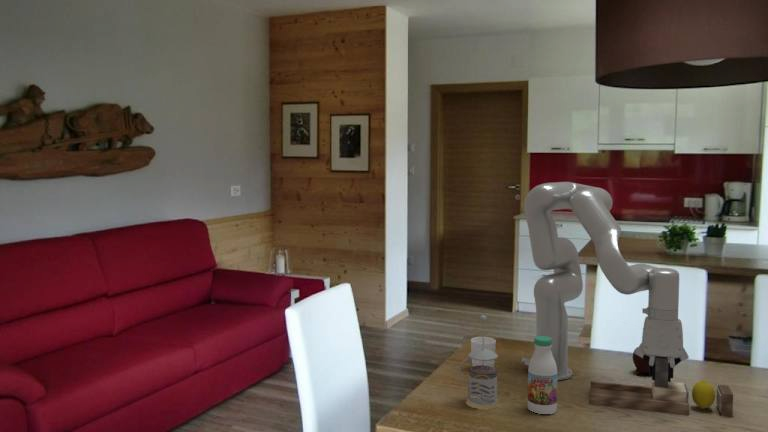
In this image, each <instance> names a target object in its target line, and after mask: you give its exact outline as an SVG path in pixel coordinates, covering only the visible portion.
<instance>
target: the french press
mask: <svg viewBox="0 0 768 432" xmlns="http://www.w3.org/2000/svg"><path fill="white" fill-rule="evenodd" d="M487 317H488V316H486V315H484V314H481V315H480V316H479V320H480V321H482V337H483V349H477V350H474V351H472V352H471V351H470V352H469V353H468V357H467V358H465V359H463V360H462V361H461V363H460V365H459V368H458V378H459V379H460V381H461V382H462V383H463V384H464V385H466V386H467V387H468V397H467V400H468V399H469V400H470V401H471V402H473V403H476V404H479V405H491V404H495V403H496V402H497V400H498V373H496V372H497V368H496V367H494V368H493V367H490V366H484V361H492V360H497V359H498V358H499V354H497V353H496V352H495V353H494V352H493V351H491V350H488V349H484V337H485V336H484V335H485V333H484V332H485V331H484V322H485V321H487ZM472 359H474V360H479V361H483V365H480V366H473V365H472V366H471V367H470V368H469V371H470V372H469V374H468V378H469V379H468V381H469V382H468V381H467V380H466V379H465V378H463V376H462V369H461V367H462V365H463V364H464V362H467V363H468V365H470V364H471V360H472ZM486 376H487V377H486ZM488 377H489V378H488ZM479 394H481V395H479ZM482 394H484V395H482ZM471 396H478V397H479V398H480V399H481V400H480V399H478V398H471Z"/></svg>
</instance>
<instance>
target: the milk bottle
mask: <svg viewBox="0 0 768 432" xmlns="http://www.w3.org/2000/svg"><path fill="white" fill-rule="evenodd" d="M533 339H534V340H533V341H534V342H533V345H534V351H533V353H532V356H531V358H530V359H531V360H530V363H529V366H528V369H527V370H528V371H527V409H528V410H530V411H529V412H531V411H532V412H531V413H533V412H535V413H538V414H537V415H540V414H550V415H553V414H555V413H557V411H558V410H557V409H558V380H557V366H556V362H555V360H554V358H553V355H552V352H551V347H552V339H551V338H550V337H547V336H537V337H536V336H535V337H534V338H533ZM535 413H534V414H535Z"/></svg>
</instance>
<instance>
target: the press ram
mask: <svg viewBox="0 0 768 432" xmlns="http://www.w3.org/2000/svg"><path fill="white" fill-rule="evenodd" d="M668 363H669V357H658V356H655V380H654V381H653V380H652V379H651V387H652V398H653V400H660V401H670V402H679V403H689V389H688V386H687V384H685V383H684V382H675V381H671V382H668Z"/></svg>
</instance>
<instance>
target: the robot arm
mask: <svg viewBox="0 0 768 432" xmlns="http://www.w3.org/2000/svg"><path fill="white" fill-rule="evenodd" d="M523 203H524V204H523V205H524V206H523V210H524V216H525V220H526V223H527V227H528V235H529V236H528V237H529V243H530V248H531V253H532V254H531V255H532V259H533V262H534V265H535V266H536V268H538V269H539V270H542V271H552V270H553V273H549V274H546V275H543V276H542V277H540V278H539V279H537V280H536V283H535V284H534V287H533V297H534V303H535V315H536V318H535V319H536V320H535V321H536V323H535V325H536V329H535V330H536V333H535V334H536V336H535V337H537V336H547V337H550V338H551V339H552V347H551V352H552V355H553V358H554V360H555V362H556V366H557V381H563V380H569V379H571V378H572V376H573V370H572V369H571V368H569V367H568V350H569V349H568V346H569V344H568V343H569V340H568V338H569V331H568V330H569V318H568V312H567V309H566V306H565V303H567V302H571V301H574V300H576V299H577V298H579V297H580V295H581V294H582V292H583V289H584V284H583V276H582V269H581V263H580V258H579V253H578V250H577V247H576V245H575V244H574V243H573V242H572V241H571V240H570V239H569V238H567V237H563V236H561V237H559V235H558V231H557V229H558V228H557V224H556V221H555V219H554V217H553V216H552V214H551V212H552V211H556V210H557V211H558V210H571V211H572V212H573V214H574V216H575V217H576V219H578V222H579V223H580V224H581V226H582V227H583V229H584V230H585V232H586V233H587V235H588V237H589V238H590V239H591V240H592V242H593V244H594V246H595V247H594V249H595V255H596V259H597V264H598V267H599V268H600V270H601V272H602V273H603V275H604V276H605V278H606V279H607V281H608V283H610V285H611V286H612V287H613V288H614V290H616V291H617V292H618V293H619V294H622V295H626V296H627V295H633V294H637V293H639V292H640V293H641V292H646V291H648V297H647V298H648V305H647V307H645V308H643V307H642V309H641V310H642V314H645V315H647V316H645V319H644V322H643V328H642V337H641V343H640V344H639V345H638V346H637V347H638V349H637V350H636V354H637V355H638V356H640V357H642V358H643V359H644V360H645V361H646V362H647V363H648V364H649V365H650V367H649V376H648V377H651V376H652V377H651V381H652V380H653V381H654V380H655V363H654V360H655V356H658V357H668V359H669V362H668V382H672V381H671V380H672V379H673V378H674V368H676V366H677V365H678V364H680V363H681V362H683V361H686V360H689V359H690V358H689V355H688V353H687V351H686V349H685V347H684V331H683V323H682V320H681V319H680V318H679V303H680V302H679V300H680V273H679V271H678V270H676V269H674V268H671V267H657V266H653V265H650V264H645V263H636V264H632V265H631V264H630V265H629V264H628V263H627V261H626V260H625V259H624V256H623V255H622V253H621V251H620V248H619V243H618V242H619V238H620V235H621V233H622V228H621V226H620V224H619V223H618V221H617V220H616V219H615V218H614V216H613V215H612V214H611V212H610V211H611V210H612V208H613V203H614V202H613V198H612V195H611V194H610V193H609V192H608V191H607V190H606V189H604V188H602V187H598V186H597V187H596V186H592V185H586V184H581V183H576V182H571V181H559V182H558V181H557V182H545V183H541V184H537V185H536V186H534V187H533V188H532V189H531V190H529V192H528V193H527V195H526V197H525V200H524V202H523ZM642 351H643V352H642ZM648 355H649V356H648ZM530 360H531V358H524V357H521V365H524V367H529V363H530Z"/></svg>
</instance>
